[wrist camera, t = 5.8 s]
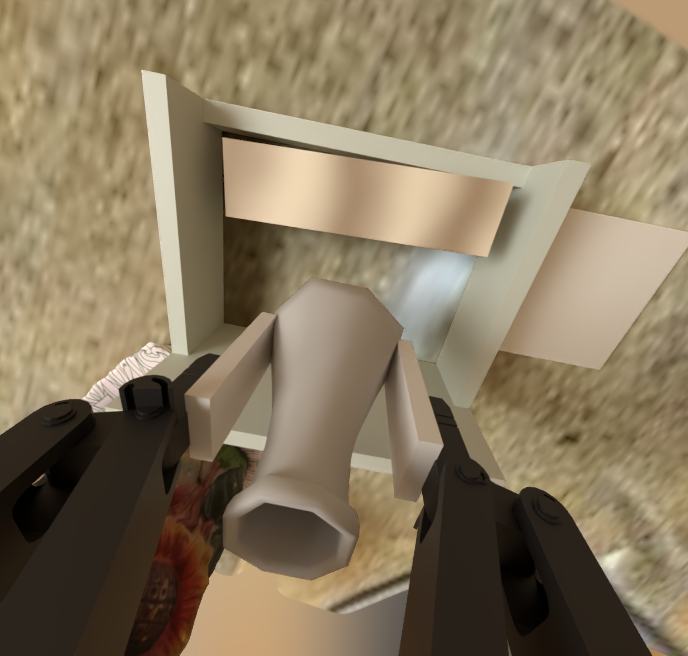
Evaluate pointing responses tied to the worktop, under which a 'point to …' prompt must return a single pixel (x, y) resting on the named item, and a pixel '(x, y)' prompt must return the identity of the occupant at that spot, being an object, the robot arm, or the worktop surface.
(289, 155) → the light brown wooden block
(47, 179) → the worktop surface
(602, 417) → the worktop surface
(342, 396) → the flask
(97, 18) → the worktop surface
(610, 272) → the mat
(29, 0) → the worktop surface
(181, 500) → the cookie jar
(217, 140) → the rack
